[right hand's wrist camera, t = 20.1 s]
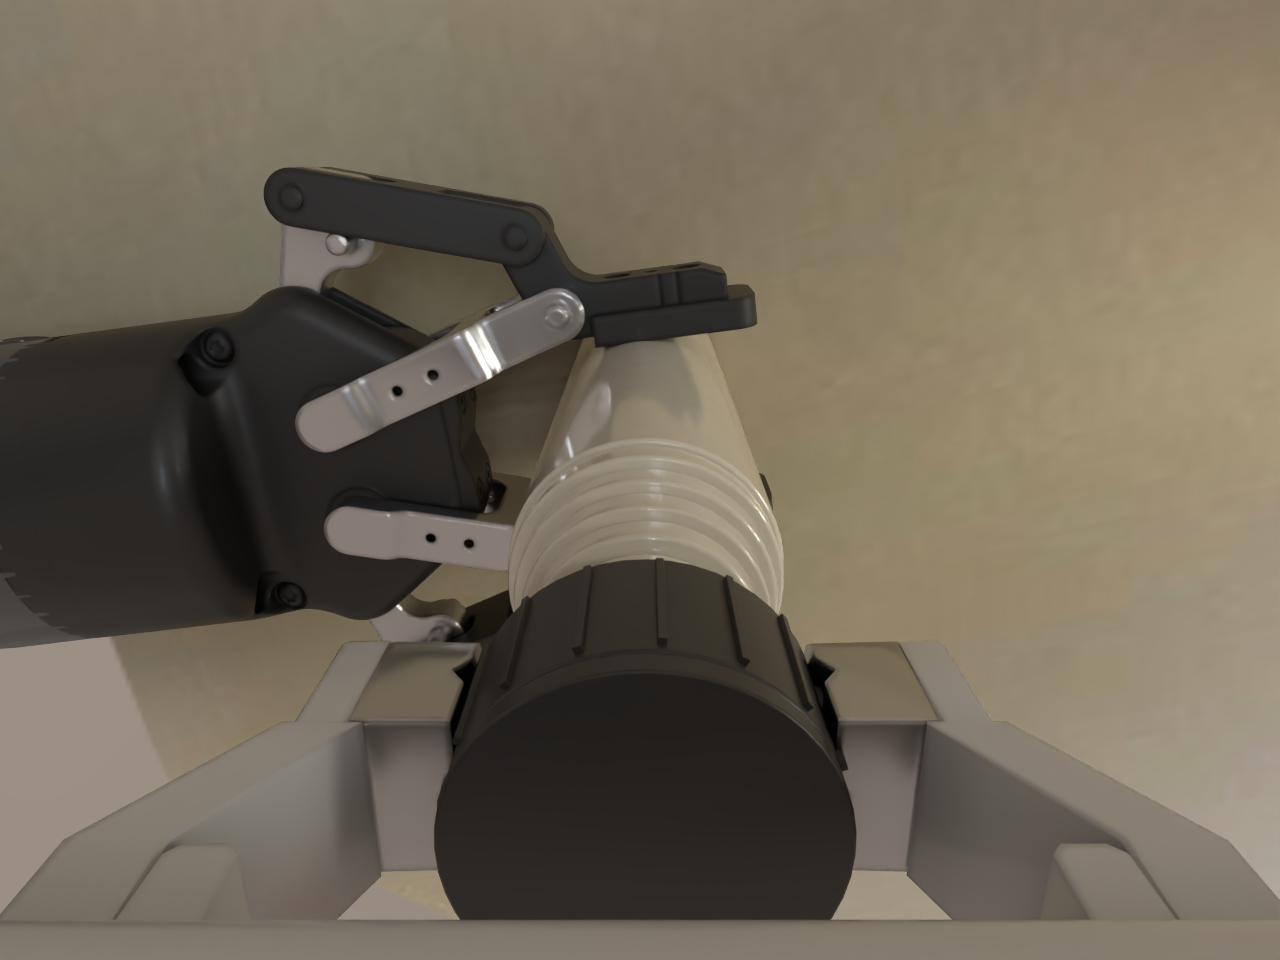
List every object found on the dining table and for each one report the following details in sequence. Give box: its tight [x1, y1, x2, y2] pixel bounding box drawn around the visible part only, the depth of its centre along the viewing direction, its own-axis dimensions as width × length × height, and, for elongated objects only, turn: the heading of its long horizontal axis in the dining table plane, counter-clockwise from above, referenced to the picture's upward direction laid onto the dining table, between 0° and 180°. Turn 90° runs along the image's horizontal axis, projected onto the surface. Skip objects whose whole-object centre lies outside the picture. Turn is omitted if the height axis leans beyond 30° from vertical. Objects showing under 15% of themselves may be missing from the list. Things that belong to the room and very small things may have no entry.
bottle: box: [508, 333, 784, 614], centre depth 18 cm, size 4×4×20 cm
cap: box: [434, 558, 857, 920], centre depth 9 cm, size 4×4×2 cm
